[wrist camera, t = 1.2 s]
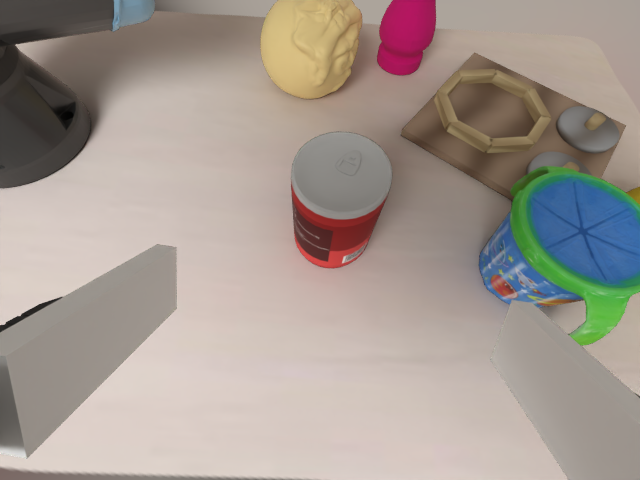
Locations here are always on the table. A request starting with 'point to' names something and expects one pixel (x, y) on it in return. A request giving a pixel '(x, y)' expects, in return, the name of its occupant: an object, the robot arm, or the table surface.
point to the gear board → (510, 127)
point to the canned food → (338, 196)
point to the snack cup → (567, 247)
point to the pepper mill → (406, 35)
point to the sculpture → (310, 45)
